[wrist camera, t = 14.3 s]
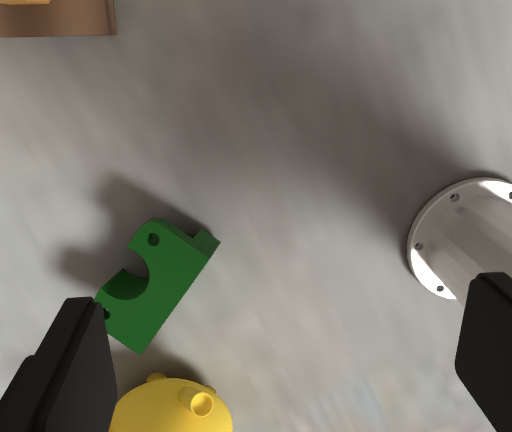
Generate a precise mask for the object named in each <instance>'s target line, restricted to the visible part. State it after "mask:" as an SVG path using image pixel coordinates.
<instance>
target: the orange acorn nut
mask: <svg viewBox="0 0 512 432" xmlns="http://www.w3.org/2000/svg"><path fill="white" fill-rule="evenodd" d="M50 1H51V0H0V3H2V4H9V5H14V4H49V2H50Z"/></svg>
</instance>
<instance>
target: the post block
mask: <svg viewBox="0 0 512 432" xmlns="http://www.w3.org/2000/svg"><path fill="white" fill-rule="evenodd" d="M90 35H118V34H117V27H116V19H115V11H114V4H113V0H51V1H50V2H49V4H14V5H9V4H2V3H0V37H45V36H90Z"/></svg>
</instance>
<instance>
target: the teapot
mask: <svg viewBox="0 0 512 432" xmlns="http://www.w3.org/2000/svg"><path fill="white" fill-rule="evenodd" d="M146 382H147V383H145V384H142V385H140V386H138V387H136V388H134V389H133V390H131V391H129V392H128V393H127V394H125V395H124V396H123V397H122V398H121V399H120V400H119V401H118V403H117V404H116V406H115V409H114V413H113V417H112V420H111V424H110V428H109V431H108V432H232V419H231V415H230V413H229V411H228V408H227V407H226V405H225V403H224V402H223V401H222V400H221V399H220V397H219V396H217V395H216V391H215V389H214V388H212V387H210V386H203V385H200V384H198V383H196V382H193V381H190V380H185V379H179V378H167V377H166V376H165V375H163V374H161V373H153V374H151V375H149V376H148V377H147V380H146Z"/></svg>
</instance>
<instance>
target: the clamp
mask: <svg viewBox="0 0 512 432" xmlns="http://www.w3.org/2000/svg"><path fill="white" fill-rule="evenodd" d="M219 244H220V241H219V240H217V239H216V238H214V237H213V236H212V235H210V234H209V233H207V232H206V231H204V230H203V229H201V230H200V231H199V232H198V233H197V234H196V235H195V236H194V238H191V237H190V236H188V235H187V234H185V233H184V232H183V231H181V230H180V229H178V228H177V227H175V226H174V225H173V224H171V223H170V222H168V221H167V220H165V219H162V218H153V219H151V220H149V221H148V222H146V223H145V224H143V225H142V226H141V227H140V228H139V230H138V231H137V233H136V234H135V236H134V237H133V239H132V241H131V242H130V244H129V245H128V247H127V248H130V249H132V250H134V251H135V252H137V253H138V254H139V255H140V256H141V257H142V258H143V259H144V261H145V262H146V264H147V266H148V269H149V275H150V278H149V279H140V278H136V277H134V276H132V275H130V274H129V273H128V272H127V271H125V270H124V269H122V270H121V271H120V272H118V273H117V274H116V275H115V276H114V277H113V278H112V279H111V280H109V281H108V282H107V283H106V284H105V285H104V286H103V287H101V289H100V290H99V292H98V293H97V295H96V297H95V298H94V302H100V303H101V304H102V308H103V313H104V319H105V324H106V330H107V333H108V334H109V335H111V336H112V337H114V338H115V339H117V340H118V341H120V342H121V343H122V344H124V345H125V346H127V347H128V348H130V349H131V350H133V351H134V352H136V353H137V354H139V355H140V356H141V354H142V353H143V351H144V350H145V349H146V347H147V346H148V344H149V343H150V342H151V340H152V339H153V337H154V336H155V335H156V333H157V332H158V330H159V329H160V328H161V326H162V325H163V323H164V322H165V321H166V319H167V318H168V316H169V315H170V314H171V312H172V311H173V309H174V308H175V307H176V305H177V304H178V302H179V301H180V300H181V298H182V297H183V295H184V294H185V293H186V291H187V290H188V289H189V287H190V286H191V284H192V283H193V282H194V280H195V279H196V277H197V276H198V275H199V273H200V272H201V270H202V269H203V268H204V266H205V265H206V263H207V262H208V261H209V259H210V258H211V256H212V255H213V253H214V251H215V250H216V248H217V247H218V245H219ZM106 309H107V310H108V311H109V312H108V311H107V310H106Z"/></svg>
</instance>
